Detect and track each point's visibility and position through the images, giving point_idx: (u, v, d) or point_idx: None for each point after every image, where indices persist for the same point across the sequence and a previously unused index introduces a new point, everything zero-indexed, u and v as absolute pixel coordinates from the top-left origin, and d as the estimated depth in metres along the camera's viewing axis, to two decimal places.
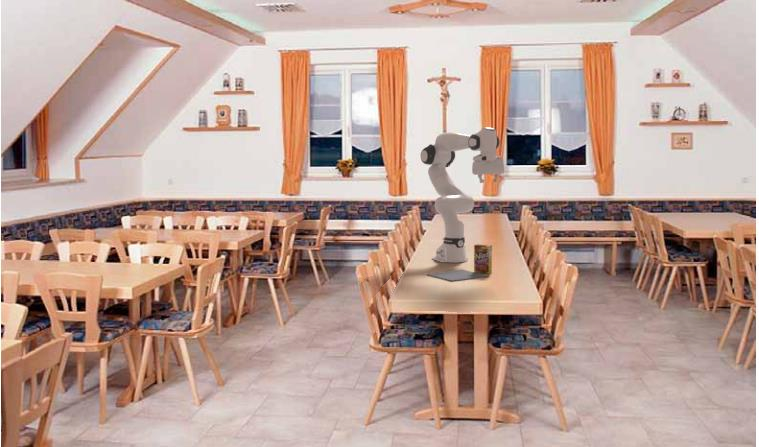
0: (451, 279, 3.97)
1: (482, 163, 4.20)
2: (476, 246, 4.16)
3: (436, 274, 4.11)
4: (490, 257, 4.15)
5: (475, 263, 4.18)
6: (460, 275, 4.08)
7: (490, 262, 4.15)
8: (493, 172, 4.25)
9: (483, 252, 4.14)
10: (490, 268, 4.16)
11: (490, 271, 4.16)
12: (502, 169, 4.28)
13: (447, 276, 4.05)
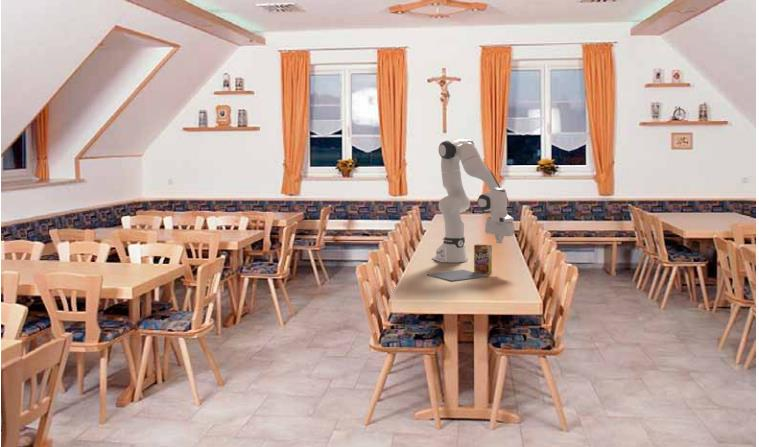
0: (451, 279, 3.97)
1: None
2: (476, 246, 4.16)
3: (436, 274, 4.11)
4: (490, 257, 4.15)
5: (475, 263, 4.18)
6: (460, 275, 4.08)
7: (490, 262, 4.15)
8: None
9: (483, 252, 4.14)
10: (490, 268, 4.16)
11: (490, 271, 4.16)
12: None
13: (447, 276, 4.05)
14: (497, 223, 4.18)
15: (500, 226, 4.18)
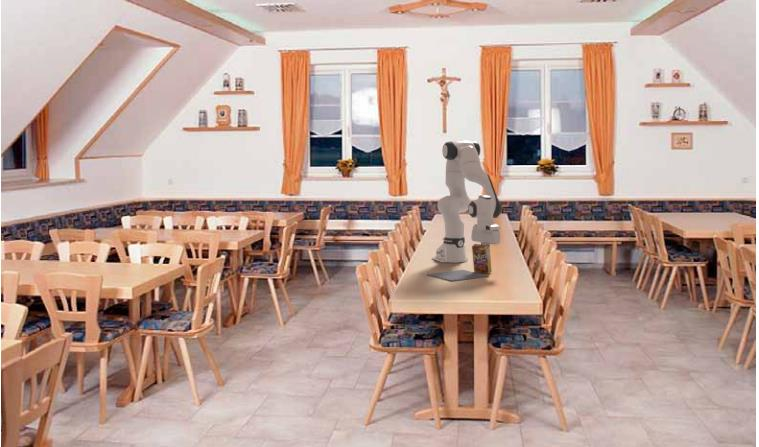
0: (451, 279, 3.97)
1: None
2: (474, 247, 4.14)
3: (436, 274, 4.11)
4: (489, 257, 4.14)
5: (474, 263, 4.17)
6: (460, 275, 4.08)
7: (489, 261, 4.14)
8: None
9: (481, 253, 4.13)
10: (490, 267, 4.15)
11: (490, 270, 4.16)
12: None
13: (447, 276, 4.05)
14: (483, 231, 4.14)
15: (486, 234, 4.13)
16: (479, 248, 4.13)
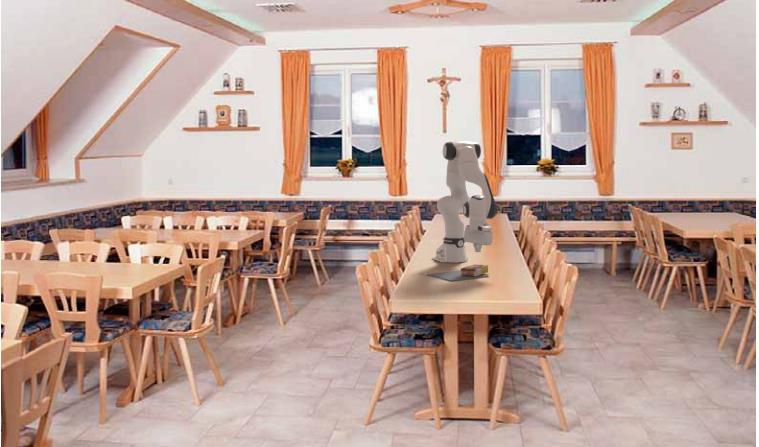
0: (451, 279, 3.97)
1: None
2: (463, 275, 4.06)
3: (436, 274, 4.11)
4: (481, 270, 4.07)
5: None
6: (460, 275, 4.08)
7: (483, 269, 4.09)
8: None
9: None
10: (486, 268, 4.12)
11: (487, 268, 4.13)
12: None
13: (447, 276, 4.05)
14: (475, 232, 4.11)
15: (478, 235, 4.11)
16: (469, 275, 4.05)
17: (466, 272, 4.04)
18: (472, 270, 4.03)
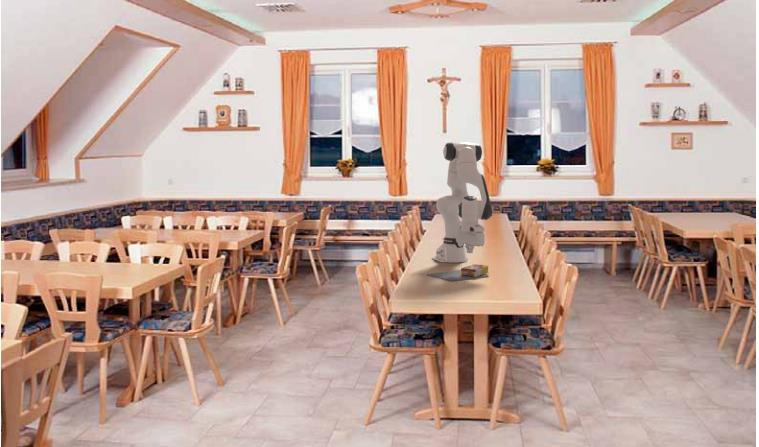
0: (451, 279, 3.97)
1: None
2: (463, 275, 4.06)
3: (436, 274, 4.11)
4: (481, 271, 4.07)
5: None
6: (460, 275, 4.08)
7: (483, 270, 4.09)
8: None
9: None
10: (486, 269, 4.12)
11: (487, 268, 4.13)
12: None
13: (447, 276, 4.05)
14: (467, 232, 4.08)
15: (470, 236, 4.08)
16: None
17: (466, 272, 4.04)
18: (472, 270, 4.03)
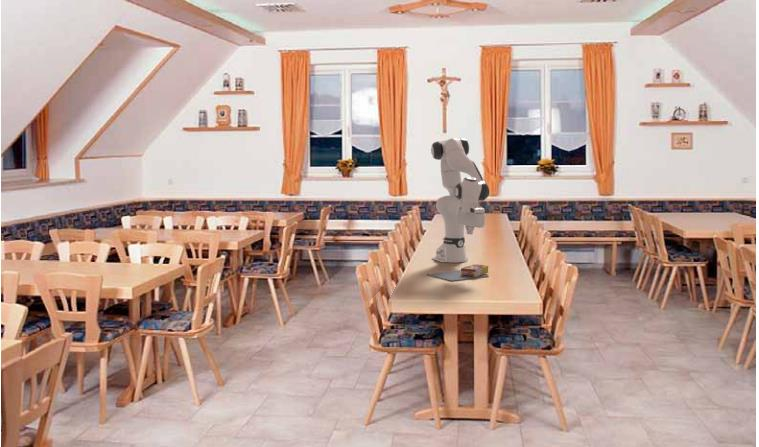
0: (451, 279, 3.97)
1: None
2: (463, 275, 4.06)
3: (436, 274, 4.11)
4: (481, 271, 4.07)
5: None
6: (460, 275, 4.08)
7: (483, 270, 4.09)
8: None
9: None
10: (486, 269, 4.12)
11: (487, 268, 4.13)
12: None
13: (447, 276, 4.05)
14: (468, 214, 4.07)
15: (471, 217, 4.07)
16: None
17: (466, 272, 4.04)
18: (472, 270, 4.03)
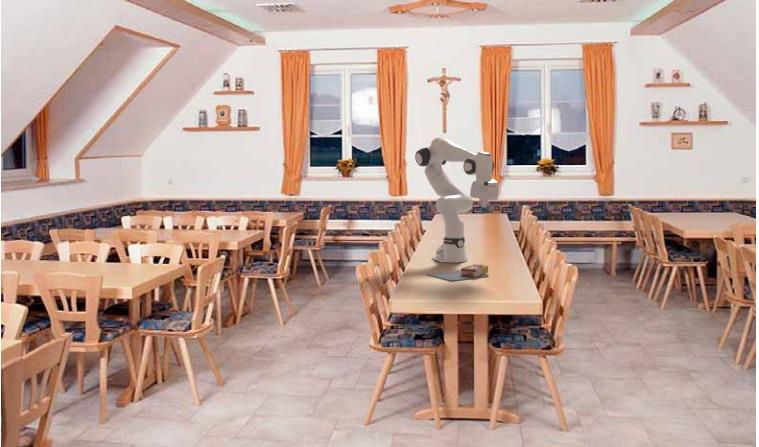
0: (451, 279, 3.97)
1: None
2: (463, 275, 4.06)
3: (436, 274, 4.11)
4: (481, 271, 4.07)
5: None
6: (460, 275, 4.08)
7: (483, 270, 4.09)
8: None
9: None
10: (486, 269, 4.12)
11: (487, 268, 4.13)
12: None
13: (447, 276, 4.05)
14: (482, 187, 4.20)
15: (485, 190, 4.20)
16: None
17: (466, 272, 4.04)
18: (472, 270, 4.03)
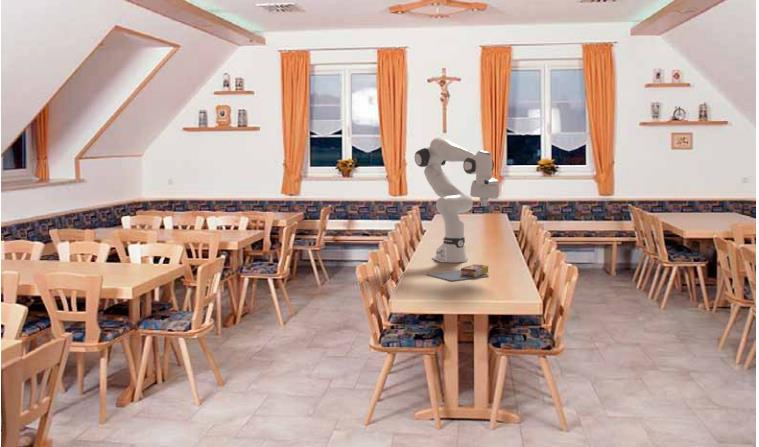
0: (451, 279, 3.97)
1: None
2: (463, 275, 4.06)
3: (436, 274, 4.11)
4: (481, 271, 4.07)
5: None
6: (460, 275, 4.08)
7: (483, 270, 4.09)
8: None
9: None
10: (486, 269, 4.12)
11: (487, 268, 4.13)
12: None
13: (447, 276, 4.05)
14: (482, 186, 4.21)
15: (485, 189, 4.20)
16: None
17: (466, 272, 4.04)
18: (472, 270, 4.03)
